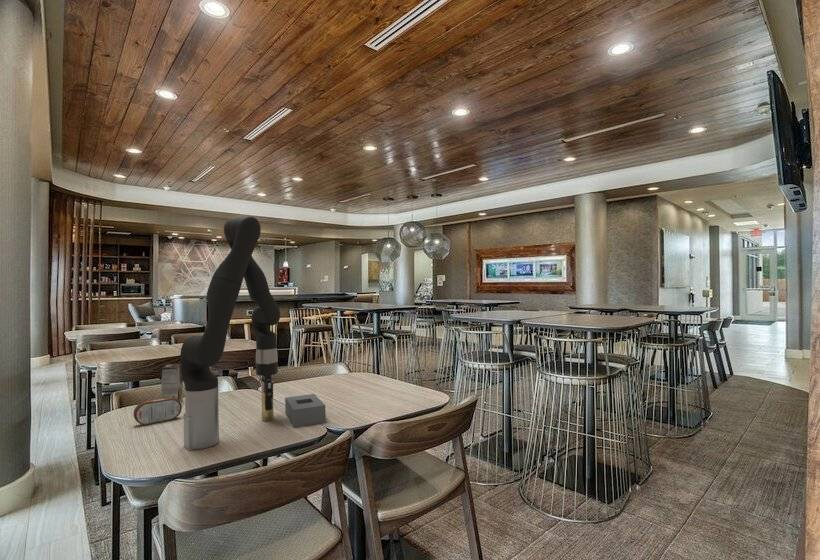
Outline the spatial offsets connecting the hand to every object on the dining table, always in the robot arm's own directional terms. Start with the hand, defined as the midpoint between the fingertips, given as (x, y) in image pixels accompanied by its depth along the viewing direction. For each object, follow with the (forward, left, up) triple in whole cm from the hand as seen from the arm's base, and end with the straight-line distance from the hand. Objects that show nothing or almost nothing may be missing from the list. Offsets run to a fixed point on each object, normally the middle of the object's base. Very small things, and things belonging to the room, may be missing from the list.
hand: (267, 407), depth 152 cm
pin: (0, 0, -4) cm, 4 cm away
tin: (-30, +26, -5) cm, 40 cm away
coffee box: (-21, +50, -5) cm, 54 cm away
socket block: (+11, -7, -4) cm, 14 cm away
